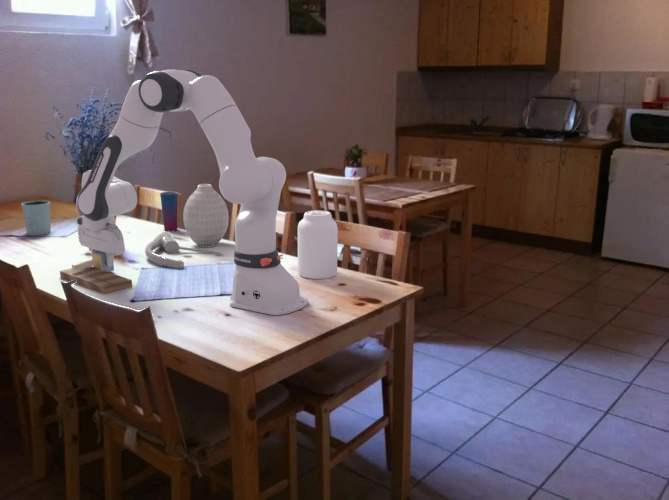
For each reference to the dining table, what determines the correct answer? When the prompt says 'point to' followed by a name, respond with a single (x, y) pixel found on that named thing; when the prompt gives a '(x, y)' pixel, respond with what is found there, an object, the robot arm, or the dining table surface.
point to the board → (97, 279)
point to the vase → (205, 216)
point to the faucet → (169, 250)
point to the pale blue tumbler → (37, 217)
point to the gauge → (95, 262)
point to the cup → (169, 210)
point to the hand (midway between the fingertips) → (103, 263)
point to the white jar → (317, 245)
